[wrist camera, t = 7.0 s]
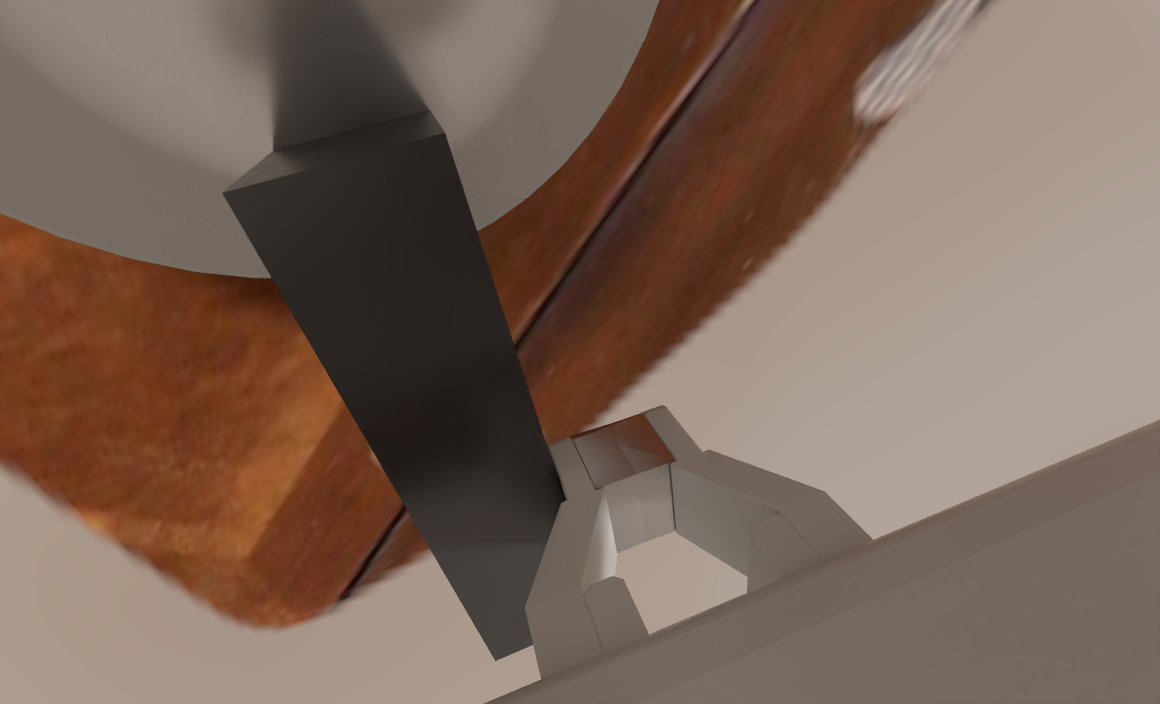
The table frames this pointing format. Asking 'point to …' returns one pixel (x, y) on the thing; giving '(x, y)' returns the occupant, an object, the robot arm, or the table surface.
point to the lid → (338, 207)
